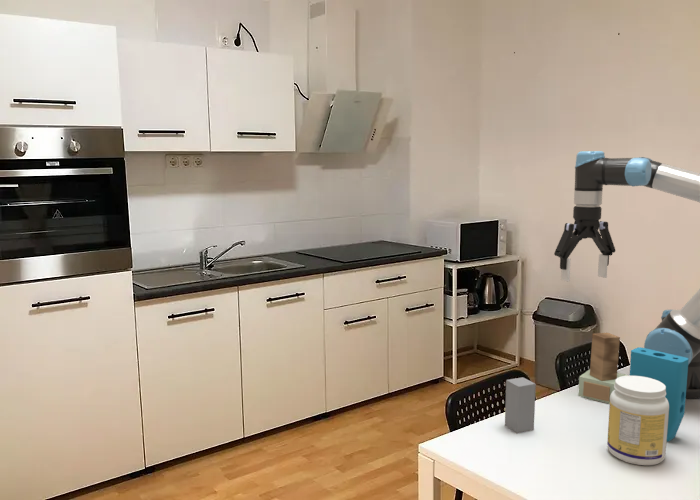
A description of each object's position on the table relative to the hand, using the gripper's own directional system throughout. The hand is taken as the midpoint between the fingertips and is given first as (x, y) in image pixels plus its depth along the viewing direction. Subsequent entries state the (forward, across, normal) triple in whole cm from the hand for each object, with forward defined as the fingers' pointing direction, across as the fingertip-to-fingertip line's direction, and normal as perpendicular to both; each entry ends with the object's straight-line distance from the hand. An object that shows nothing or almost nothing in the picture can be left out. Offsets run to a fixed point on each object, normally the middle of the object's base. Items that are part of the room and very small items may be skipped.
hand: (583, 278), depth 182 cm
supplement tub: (+32, +20, +40) cm, 55 cm away
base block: (+32, 0, +10) cm, 34 cm away
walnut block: (+26, +2, +11) cm, 28 cm away
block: (+32, +7, +34) cm, 47 cm away
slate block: (+32, +35, +19) cm, 51 cm away
